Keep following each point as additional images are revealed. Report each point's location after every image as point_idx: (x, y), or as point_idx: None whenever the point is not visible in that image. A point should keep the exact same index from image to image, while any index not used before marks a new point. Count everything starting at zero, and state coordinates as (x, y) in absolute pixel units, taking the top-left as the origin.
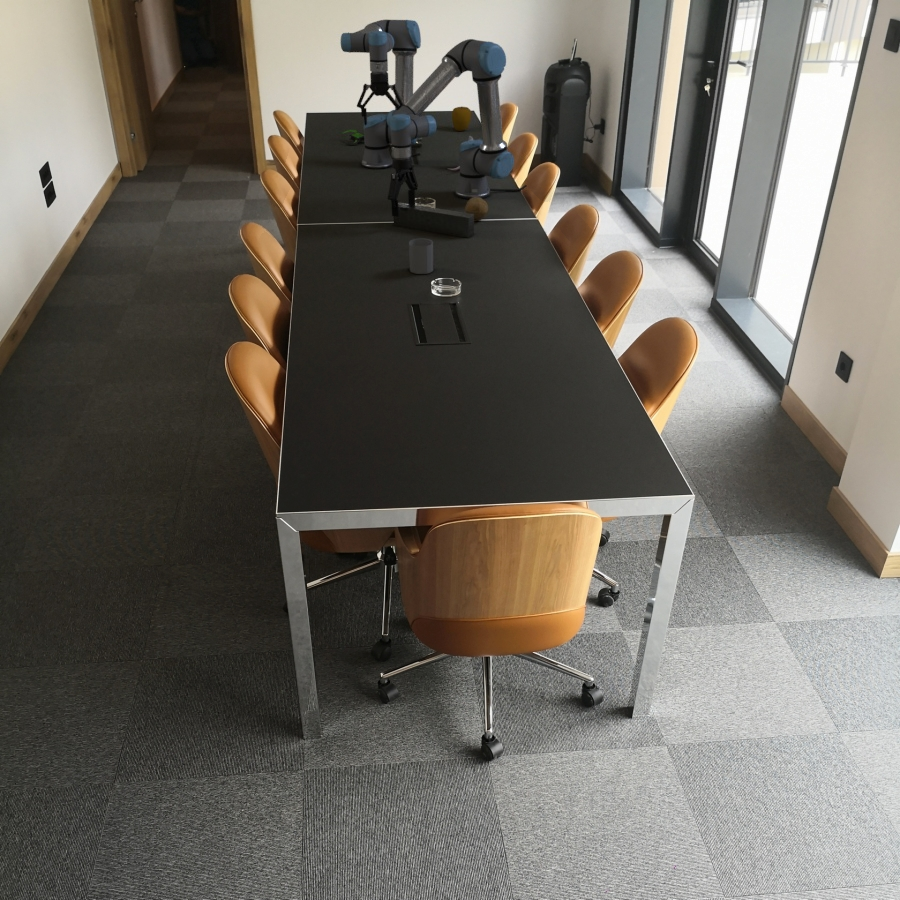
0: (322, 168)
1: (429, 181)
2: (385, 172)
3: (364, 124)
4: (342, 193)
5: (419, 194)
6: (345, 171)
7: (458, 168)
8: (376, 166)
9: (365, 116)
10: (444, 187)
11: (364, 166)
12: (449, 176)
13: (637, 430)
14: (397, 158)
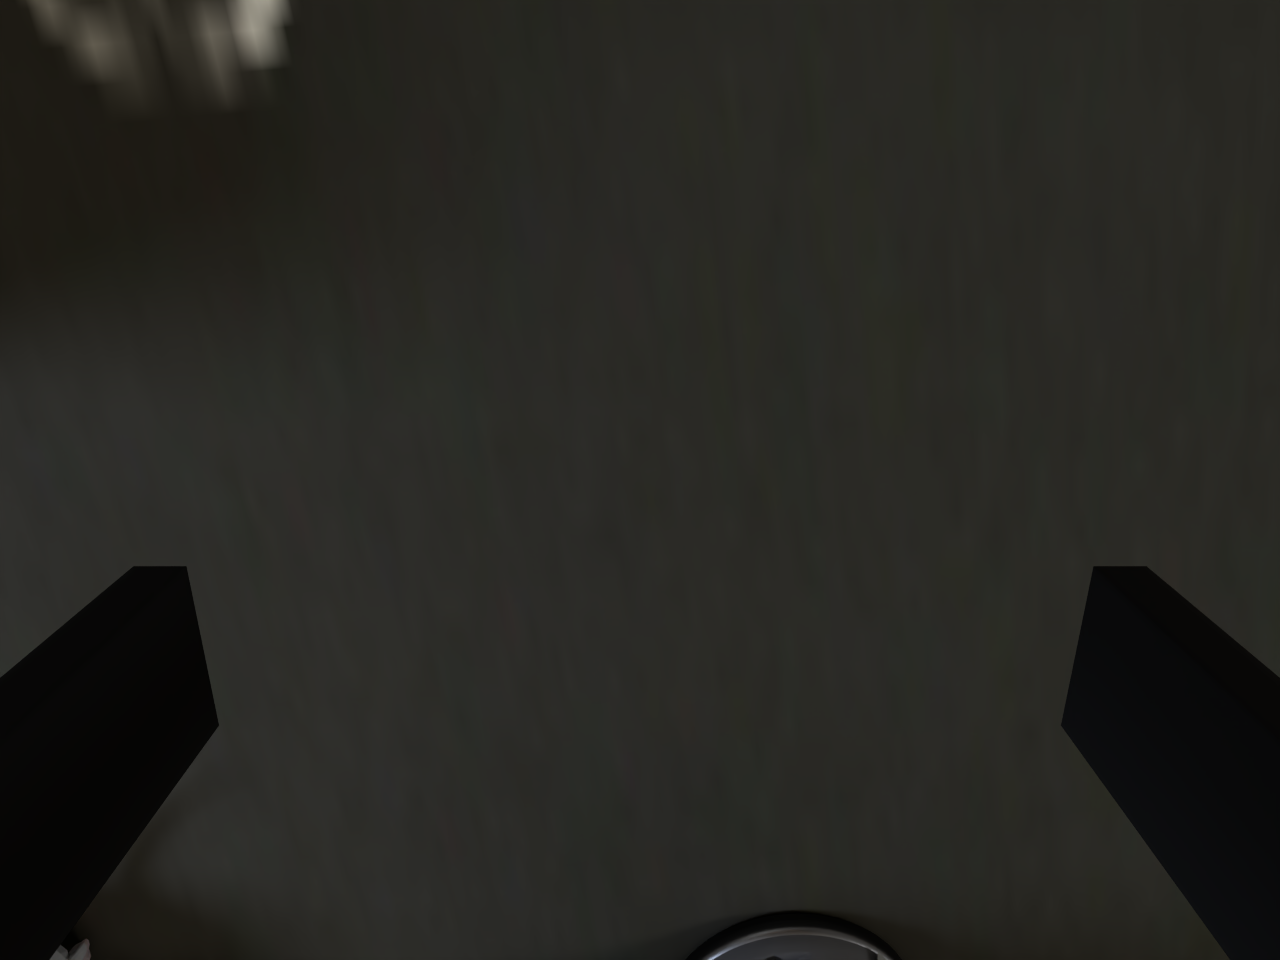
0: None
1: (269, 629)
2: (701, 839)
3: (1152, 576)
4: (1059, 170)
5: (252, 200)
6: (1041, 842)
7: None
8: (788, 928)
9: (1266, 724)
10: (77, 460)
11: (889, 949)
12: None
13: None
14: None
